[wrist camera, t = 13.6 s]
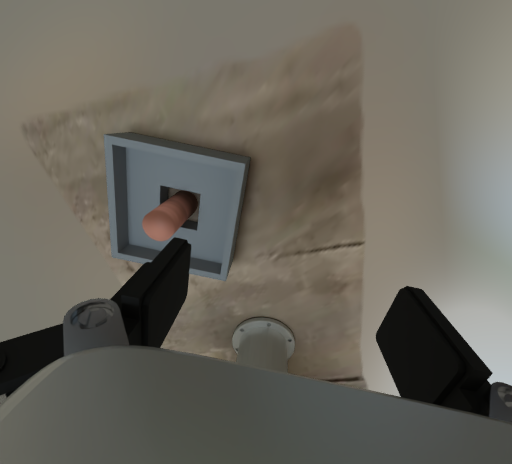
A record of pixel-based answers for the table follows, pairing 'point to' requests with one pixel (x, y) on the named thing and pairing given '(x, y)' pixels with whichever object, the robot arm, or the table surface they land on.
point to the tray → (156, 192)
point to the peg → (169, 216)
